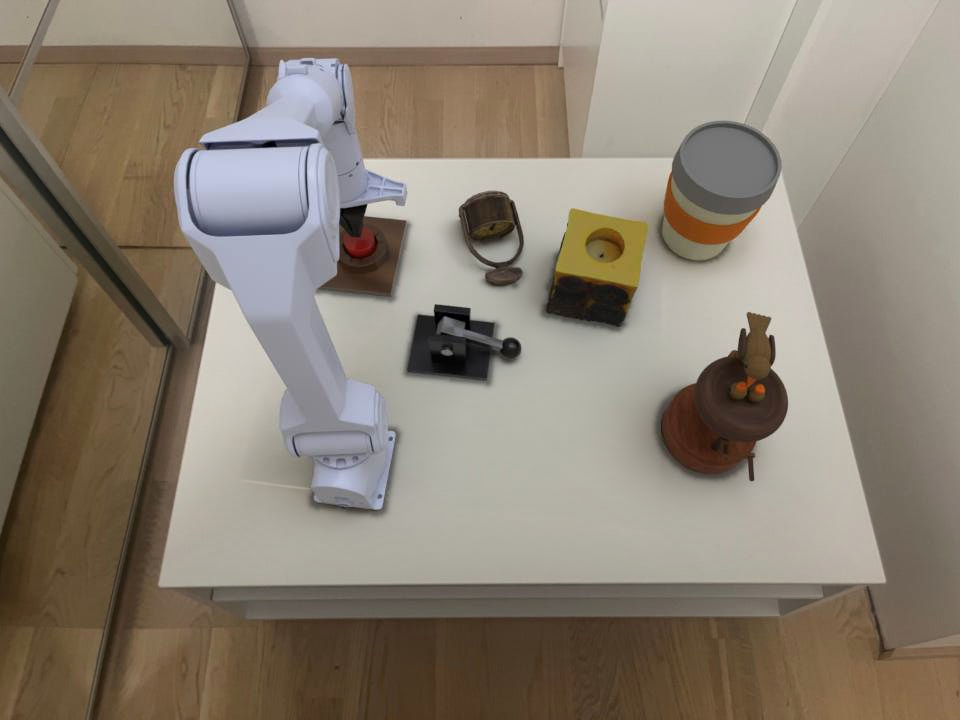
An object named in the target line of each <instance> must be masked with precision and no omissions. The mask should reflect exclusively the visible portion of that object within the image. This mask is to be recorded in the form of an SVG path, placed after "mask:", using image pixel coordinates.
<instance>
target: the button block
mask: <svg viewBox="0 0 960 720" xmlns="http://www.w3.org/2000/svg"><path fill="white" fill-rule="evenodd" d="M407 226H408V221H407V220H406V219H396V218H387V217H379V216H378V217H377V216H367V215H366V216H365V215H364V218H363V227H367V228H368V229H370V230H371V231H372V232H373V235H374V238H375V242H376V248H375V250H374V252H373V253H372V254H371V255H370V256H368V257H365V258H354V257H352V256H350V255H349V254H348V252H347V250H346V247H345V244H344V235H345V234H346V231H345V229H344V228H343V227H342V226H341V225H340V224H339V252H340V255H339V260H338V261H337V275H336V276H334V277H333V278H332V279H330V280H329V281H327V282H326V283H324V284H323V285H322V286H320V287H319V288H317V290H324V291H333V292H342V293H343V292H344V293H351V294H352V293H353V294H362V295H370V296H371V295H372V296H380V297H381V296H382V297H389V298H391V297H393V293H394V288H395V283H396V277H397V273H398V270H399V269H398V268H399V264H400V259H401V255H402V250H403V245H404V242H405V241H404V240H405V235H406V231H407Z"/></svg>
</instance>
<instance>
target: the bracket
mask: <svg viewBox="0 0 960 720" xmlns="http://www.w3.org/2000/svg"><path fill="white" fill-rule="evenodd" d="M444 316H446V317H449V318H452V319H456V320H459V321H462V322H465V329H466V330H469V331H472V332H476V333H479V334H483V335H486V336H489V337H493V338H494V330H495V322H491V321H482V320H475V319H474V320H473V319H472V309H471V307H465V306H464V307H463V306H455V305H446V304H438V303H437V304H436V303H435V304H434V306H433V315H427V314H417V318H416V323H415V328H414V334H413V338H412V344H411V349H410V356H409V360H408V365H407V372H408V373H415V374H424V375H432V376H442V377H450V378H460V379H467V380H476V381H486V382H487V381H488V377H489V368H490V362H491V361H490V360H491V354H492V349H490V348H487V347H483V346H480V345H477V344H473V343H470V342H466V337H460V336H451V335H442V334H436V332H437V326H438V323H439V322H440V321H441V319H442V318H443V317H444Z"/></svg>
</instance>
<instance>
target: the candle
mask: <svg viewBox="0 0 960 720" xmlns="http://www.w3.org/2000/svg"><path fill="white" fill-rule="evenodd" d="M567 219H568V221H567V223H566V229H565V232H564V233H563V236H562V239H561V242H560V247H559V251H558V255H557V261H556V264H555V265H556V266H555V270H554V273H553V278H552V283H551V286H550V290H549V294H548V298H547V299H548V301H547V303H546V307H545V312H546V313H547V314H555V315H557V316H562V317H564V318H569V319H576V320H579V321H587V322H597V323H605V324H606V325H607V324H608V325H610V326H614V327H621V326H622V325H623V323H624V322H625V319H626V316H627V315H628V311H629V309H630V307H631V304H632V300H633V298H634V297H635V293H637V290H638V288H639V282H640V276H641V272H642V261H643V254H644V250H645V245H646V241H647V236H648V231H649V224H648V222H646V221H641V220H635V219H628V218H621V217H616V216H610V215H605V214H599V213H595V212H591V211H587V210H582V209H578V208H574V207H572V208H570V210H569V211H568V217H567Z"/></svg>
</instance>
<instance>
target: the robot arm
mask: <svg viewBox="0 0 960 720" xmlns="http://www.w3.org/2000/svg"><path fill="white" fill-rule="evenodd" d="M353 85H354V84H353V78H352V73H351V70H350V66H349V64H347V63H344V64H343V63H341V61H340V59H339V58H336V57H334V58H314V57H302V58H300V59H289V60H288V61H284V60H283V59H280V61H279V64H278V75H277V78H276V82H275V83H274V84H273V85H272V86H271V88H270V89H269V92H268V93H267V97H266V105H265V106H264V107H263V108H262V109H260V110H258V111H256V112H255V113H253V114H251V115H249V116H248V117H246V118H244V119H242V120H239V121H237V122H234V123H231V124H228V125H226V126H223V127H220V128H218V129H215V130H212V131H210V132H206V133H204V134H203V135H202V136H201V138H200V139H199V141H198V144H199V145H200V146H202V147H203V148H204V149H201V148H200V147H189V148H187V149H185V150H184V151H183V152H182V154H181V155H180V157H179V160H177V163H176V166H175V169H174V174H173V194H174V200H175V205H176V210H177V211H176V212H177V219H178V224H179V228H180V230H181V233H182V235H183V236H184V238H185V240H186V241H187V242H188V244H189V246H190V247H191V249H192V250H193V252H194V254H195V256H196V257H197V259H198V260H199V262H200V263H201V265H202V267H203V268H204V270H205V272H206V273H207V274H208V276H209V277H210V279H211V281H213V282H214V283H217V284H218V285H220V286H222V287H224V288H226V289H228V290H230V291H231V292H232V295H233V296H234V299H235V300H236V302H237V304H238V306H239V308H240V310H241V313H242V314H243V316H244V319H245V321H246V323H247V324H248V326H249V327H250V329H251V331H252V333H253V334H254V336H255V338H256V339H257V340H258V342H259V344H260V345H261V347H262V349H263V351H264V352H265V354H266V356H267V358H268V359H269V361H270V362H271V364H272V366H273V367H274V369H275V371H276V372H277V374H278V376H279V377H280V379H281V381H282V382H283V384H284V385H285V388H286V389H285V390H284V391H283V395H282V397H281V401H280V404H279V405H280V406H279V416H278V427H279V429H280V432H281V434H282V440H283V445H284V448H285V450H286V452H287V453H289V455H290V456H291V457H292V458H294V459H299V458H301V457H307V458H311V459H313V461H314V463H313V464H314V469H313V475H312V479H311V483H310V490H311V492H312V493H313V494H314V495H313V500H314V501H315V503H321V504H326V505H327V504H328V505H335V506H339V507H342V508H343V507H344V508H357V509H358V508H359V509H365V510H366V509H367V510H375V511H380V510H382V508H383V507H384V502H385V495H386V490H387V484H388V479H389V475H390V474H389V473H390V468H391V463H392V459H393V452H394V448H395V442H396V437H397V434H396V432H395V431H393V430H389V419H388V408H387V401H386V398H385V397H384V396H383V395H382V394H381V392H380V391H377V387H376V386H375V385H373V384H369V383H368V382H367V383H366V382H363V381H360V380H355V379H352V378H349V377H347V375H346V372H345V370H344V368H343V365H342V363H341V359H340V357H339V355H338V352H337V350H336V347H335V345H334V342H333V340H332V338H331V335H330V333H329V330H328V328H327V325H326V323H325V320H324V318H323V315H322V313H321V310H320V308H319V305H318V303H317V301H316V298H315V294H316V291H317V290H318V288H319V287H320V286H322V285H323V284H324V283H326V282H327V281H329V280H330V279H332V278H333V277H334V276H336V275H337V261H338V260H339V255H340V252H339V224H340V225H341V226H342V227H343V228H344V229H345V231H346V232H347V233H348V234H349V236H350V237H357V238H360V237H361V233H362V229H363V218H364V216H365V215H366V212H367V208H368V205H369V204H375V203H380V202H387V201H390V202H391V201H392V202H395V205H396V206H397V207H405V206H406V202H407V198H408V188H407V183H406V182H402V181H397V180H394V179H391V178H389V177H386V176H384V175H382V174H380V173H377V172H374V171H372V170H369V169H367V168H366V165H365V161H364V158H363V153H362V149H361V145H360V139H359V135H358V132H357V127H356V106H355V97H354V96H355V94H354V87H353ZM390 438H392V440H390ZM380 495H381V497H380V498H379V496H380Z"/></svg>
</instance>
